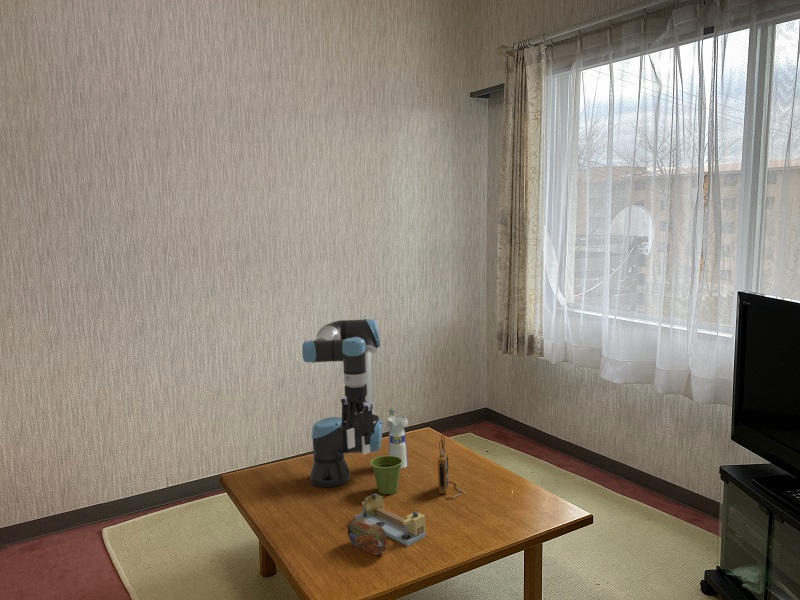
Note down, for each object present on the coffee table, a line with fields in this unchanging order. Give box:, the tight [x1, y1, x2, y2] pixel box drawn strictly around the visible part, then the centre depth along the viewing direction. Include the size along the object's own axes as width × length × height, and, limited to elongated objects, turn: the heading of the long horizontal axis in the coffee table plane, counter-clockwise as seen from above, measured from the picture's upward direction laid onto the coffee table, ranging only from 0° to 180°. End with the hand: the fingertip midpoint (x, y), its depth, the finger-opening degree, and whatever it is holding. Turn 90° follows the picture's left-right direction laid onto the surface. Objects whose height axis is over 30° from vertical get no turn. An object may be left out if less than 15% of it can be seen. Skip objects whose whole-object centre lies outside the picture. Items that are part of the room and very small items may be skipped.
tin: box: [347, 518, 389, 556], centre depth 186 cm, size 15×3×8 cm, turn 48°
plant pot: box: [369, 455, 403, 495], centre depth 226 cm, size 12×12×11 cm
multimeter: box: [437, 434, 467, 500], centre depth 223 cm, size 15×10×20 cm
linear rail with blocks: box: [354, 507, 427, 547], centre depth 199 cm, size 25×8×8 cm, turn 44°
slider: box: [361, 492, 385, 517], centre depth 206 cm, size 4×7×6 cm, turn 133°
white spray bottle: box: [386, 407, 409, 469], centre depth 248 cm, size 8×9×25 cm
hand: (358, 450), depth 210 cm, fingers open, 7 cm apart
